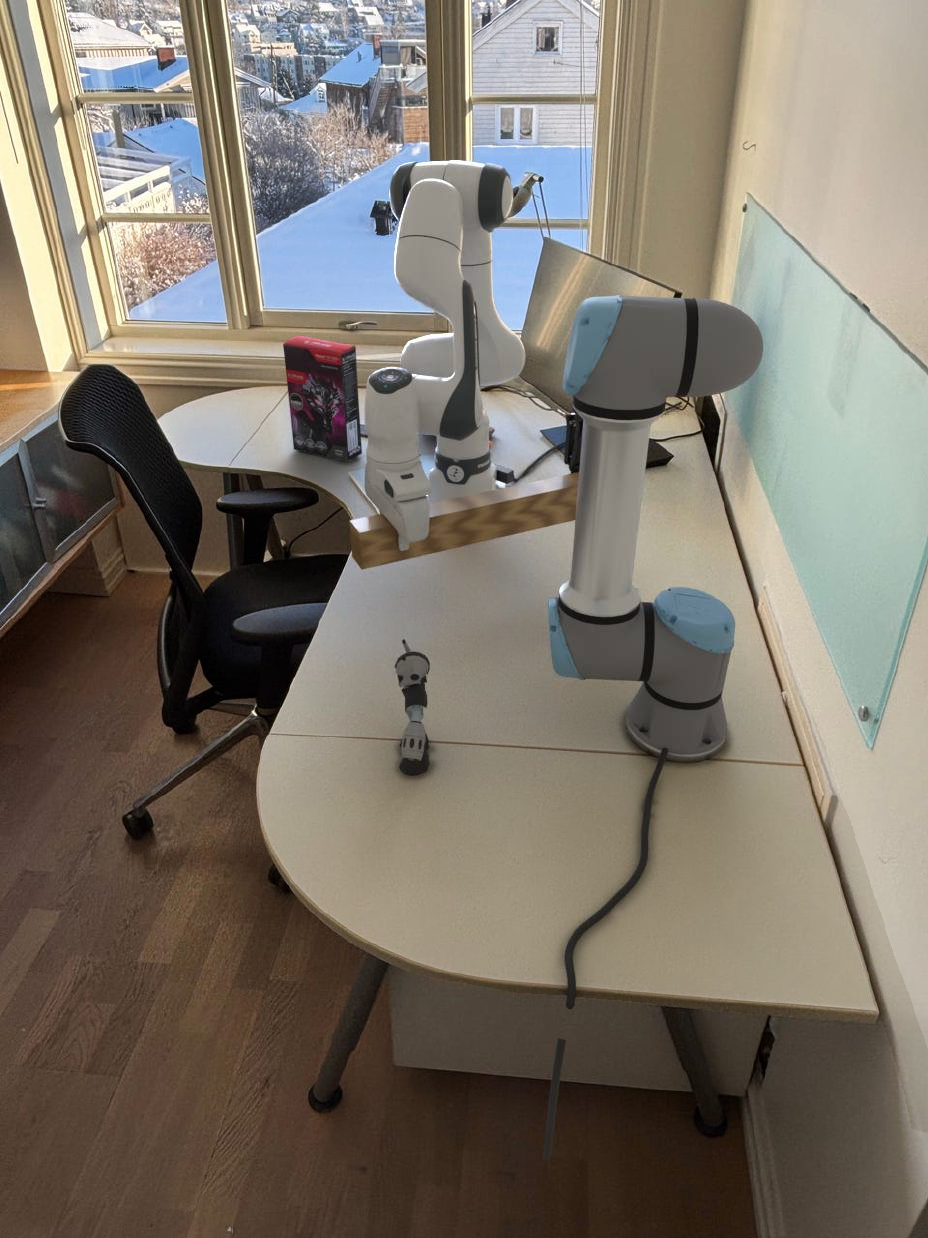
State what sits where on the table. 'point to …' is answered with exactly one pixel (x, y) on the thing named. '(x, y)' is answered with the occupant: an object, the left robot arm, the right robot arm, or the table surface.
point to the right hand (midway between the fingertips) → (583, 508)
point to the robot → (413, 710)
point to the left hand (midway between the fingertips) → (396, 540)
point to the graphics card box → (323, 397)
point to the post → (470, 520)
